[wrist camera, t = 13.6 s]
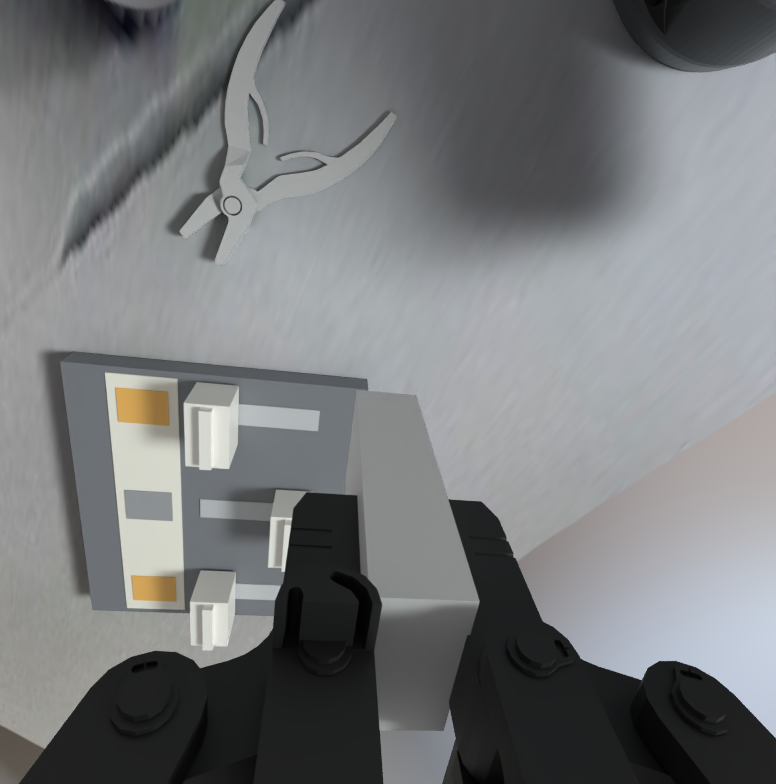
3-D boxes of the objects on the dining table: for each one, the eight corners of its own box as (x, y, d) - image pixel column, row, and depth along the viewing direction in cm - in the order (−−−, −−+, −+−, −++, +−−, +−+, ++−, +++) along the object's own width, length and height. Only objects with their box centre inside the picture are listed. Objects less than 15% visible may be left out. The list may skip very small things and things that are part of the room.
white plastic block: (235, 571, 45) (226, 609, 42) (234, 613, 47) (225, 652, 44) (200, 570, 45) (187, 607, 41) (201, 612, 47) (189, 651, 43)
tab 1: (239, 385, 38) (227, 410, 34) (237, 444, 40) (227, 473, 36) (196, 382, 38) (181, 406, 34) (197, 441, 40) (182, 470, 36)
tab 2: (313, 491, 43) (310, 524, 39) (308, 539, 45) (305, 574, 41) (276, 489, 42) (269, 521, 38) (273, 537, 44) (267, 573, 40)
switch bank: (367, 379, 41) (368, 390, 39) (338, 601, 51) (337, 619, 49) (73, 351, 38) (58, 362, 36) (101, 592, 48) (91, 611, 46)
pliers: (401, 119, 33) (260, 297, 37) (398, 120, 34) (263, 291, 38) (273, -12, 29) (133, 199, 33) (276, -4, 31) (142, 197, 35)
